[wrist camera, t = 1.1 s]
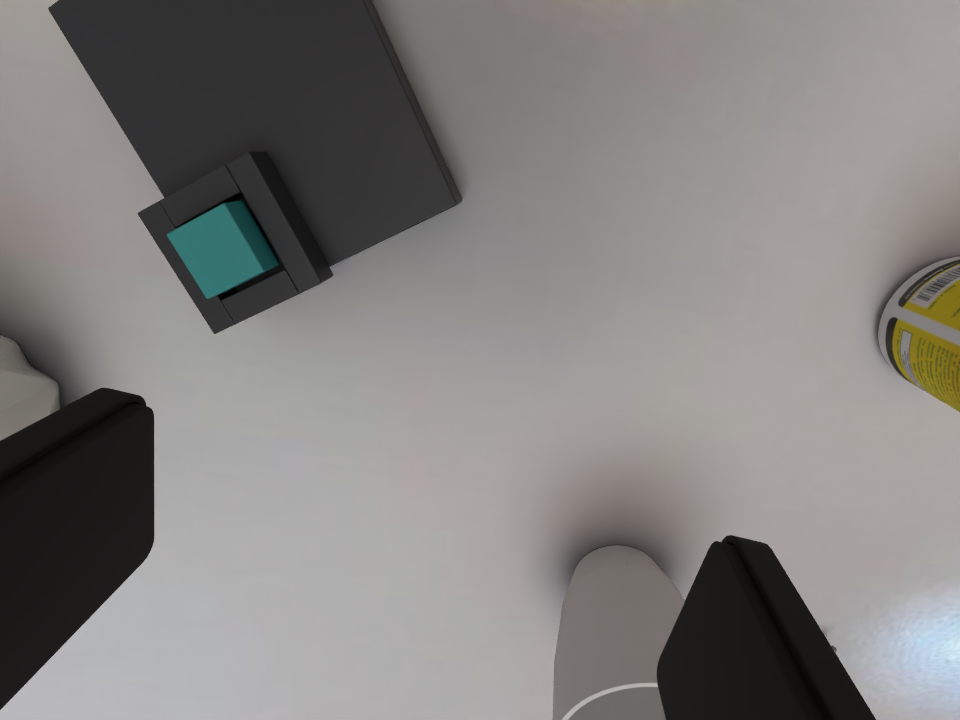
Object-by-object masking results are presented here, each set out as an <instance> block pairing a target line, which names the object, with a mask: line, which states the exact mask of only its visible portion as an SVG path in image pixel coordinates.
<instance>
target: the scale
mask: <svg viewBox="0 0 960 720" xmlns="http://www.w3.org/2000/svg"><path fill="white" fill-rule="evenodd" d="M48 9H49V11H50V13H51V15H52V16H53V18H54V19H55V21H56V23H57V24H58V26H59V27H60V29H61V31H62V32H63V34H64V36H65V37H66V39H67V40H68V42H69V44H70V45H71V47H72V49H73V50H74V52H75V53H76V55H77V57H78V58H79V60H80V62H81V63H82V65H83V66H84V68H85V70H86V71H87V73H88V74H89V76H90V78H91V79H92V81H93V83H94V84H95V86H96V87H97V89H98V91H99V92H100V94H101V96H102V97H103V99H104V100H105V102H106V104H107V105H108V107H109V108H110V110H111V112H112V113H113V115H114V117H115V118H116V120H117V121H118V123H119V125H120V126H121V128H122V130H123V131H124V133H125V134H126V136H127V138H128V139H129V141H130V143H131V144H132V146H133V147H134V149H135V151H136V152H137V154H138V155H139V157H140V159H141V160H142V162H143V164H144V165H145V167H146V168H147V170H148V172H149V173H150V175H151V177H152V178H153V180H154V181H155V183H156V185H157V186H158V188H159V189H160V191H161V193H162V194H163V196H164V199H162V200H160V201H158V202H156V203H155V204H153V205H151V206H149V207H148V208H146V209H144V210H142V211H140V212H139V213H138V215H139V217H140V218H141V220H142V221H143V223H144V225H145V226H146V228H147V229H148V231H149V232H150V234H151V236H152V237H153V239H154V240H155V242H156V243H157V245H158V247H159V248H160V250H161V251H162V253H163V254H164V256H165V257H166V259H167V261H168V262H169V264H170V265H171V267H172V268H173V270H174V272H175V273H176V275H177V276H178V278H179V279H180V281H181V283H182V284H183V286H184V287H185V289H186V290H187V292H188V294H189V295H190V297H191V298H192V300H193V301H194V303H195V305H196V306H197V308H198V309H199V311H200V312H201V314H202V316H203V317H204V319H205V320H206V322H207V323H208V325H209V326H210V328H211V330H212V331H213V333H214V334H216V333H218V332H220V331H222V330H224V329H226V328H228V327H231V326H233V325H235V324H237V323H239V322H241V321H243V320H245V319H247V318H249V317H252V316H254V315H256V314H258V313H260V312H262V311H264V310H266V309H268V308H270V307H273V306H275V305H277V304H279V303H281V302H283V301H285V300H287V299H289V298H291V297H294V296H296V295H298V294H300V293H302V292H304V291H306V290H308V289H310V288H312V287H314V286H317V285H319V284H321V283H322V282H324V281H326V280H327V279H329V278H331V277H332V276H333V273H332V271H331V269H330V268H329V267H330V266H332V265H334V264H336V263H338V262H340V261H342V260H344V259H346V258H348V257H350V256H352V255H354V254H356V253H359V252H361V251H363V250H365V249H367V248H369V247H371V246H373V245H375V244H377V243H379V242H381V241H383V240H385V239H388V238H390V237H392V236H394V235H396V234H398V233H400V232H402V231H404V230H406V229H408V228H410V227H412V226H414V225H417V224H419V223H421V222H423V221H425V220H427V219H429V218H431V217H433V216H435V215H437V214H439V213H441V212H443V211H446V210H448V209H450V208H452V207H454V206H456V205H458V204H459V203H461V202H462V198H461V196H460V194H459V192H458V189H457V187H456V185H455V183H454V181H453V178H452V176H451V174H450V172H449V170H448V167H447V165H446V163H445V161H444V159H443V156H442V154H441V152H440V150H439V148H438V145H437V143H436V141H435V139H434V137H433V134H432V132H431V130H430V128H429V126H428V123H427V121H426V119H425V117H424V115H423V112H422V110H421V108H420V106H419V104H418V101H417V99H416V97H415V95H414V93H413V91H412V88H411V86H410V84H409V82H408V80H407V77H406V75H405V73H404V71H403V69H402V66H401V64H400V62H399V60H398V58H397V55H396V53H395V51H394V49H393V47H392V44H391V42H390V40H389V38H388V36H387V33H386V31H385V29H384V27H383V25H382V22H381V20H380V18H379V16H378V14H377V11H376V9H375V7H374V5H373V3H372V0H59V1H57V2H56V3H55V4H53V5H52V6H50V7H49V8H48ZM241 200H242V201H243V202H244V203H245V205H246V207H247V209H248V210H249V212H250V214H251V215H252V217H253V219H254V221H255V222H256V224H257V226H258V228H259V229H260V231H261V233H262V235H263V236H264V238H265V240H266V242H267V243H268V245H269V247H270V249H271V250H272V252H273V254H274V255H275V257H276V259H277V261H278V262H279V265H278V266H276V267H274V268H272V269H270V270H268V271H266V272H264V273H262V274H260V275H258V276H256V277H254V278H252V279H250V280H248V281H246V282H244V283H242V284H240V285H238V286H236V287H234V288H232V289H230V290H228V291H226V292H224V293H221V294H219V295H217V296H215V297H212V298H210V299H207V298H206V297H205V295H204V294H203V292H202V291H201V289H200V287H199V286H198V284H197V283H196V281H195V279H194V278H193V276H192V275H191V273H190V272H189V270H188V268H187V267H186V265H185V264H184V262H183V260H182V259H181V257H180V256H179V254H178V252H177V251H176V249H175V248H174V246H173V244H172V243H171V241H170V240H169V238H168V237H167V234H168V233H169V232H171V231H173V230H175V229H177V228H179V227H180V226H182V225H184V224H186V223H188V222H190V221H191V220H193V219H195V218H197V217H199V216H201V215H203V214H204V213H206V212H208V211H210V210H212V209H214V208H215V207H217V206H219V205H221V204H223V203H228V202H235V201H241Z"/></svg>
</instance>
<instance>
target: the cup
mask: <svg viewBox="0 0 960 720" xmlns="http://www.w3.org/2000/svg"><path fill="white" fill-rule="evenodd" d="M684 603H685V601H684V599H683V597H682V596H681V594H680V592H679V591H678V589H677V588H676V587H675V586H674V584H673V583H672V582H671V581H670V580H669V578H668V577H667V576H666V575H665V574H664V573H663V571H662V570H661V569H660V568H659V567H658V565H657V564H656V563H655V562H654V561H653V560H652V559H651V558H650V557H649V556H648V555H647V554H645V553H644V552H642V551H640V550H638V549H635V548H632V547H628V546H621V545H613V546H606V547H602V548H599V549H596V550H594V551H592V552H590V553H589V554H587V555H586V556H585V557H583V558H582V559H581V560H580V562H579V563H578V564H577V566H576V568H575V571H574V573H573V576H572V579H571V582H570V585H569V588H568V590H567V593H566V596H565V599H564V602H563V606H562V613H561V620H560V626H559V633H558V640H557V646H556V653H555V660H554V690H553V720H666V718H665V714H664V710H663V706H662V702H661V697H660V693H659V689H658V684H657V665H658V661H659V658H660V655H661V653H662V651H663V649H664V647H665V644H666V642H667V640H668V638H669V636H670V633H671V631H672V629H673V627H674V625H675V622H676V620H677V618H678V616H679V614H680V611H681V609H682V607H683V605H684Z"/></svg>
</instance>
